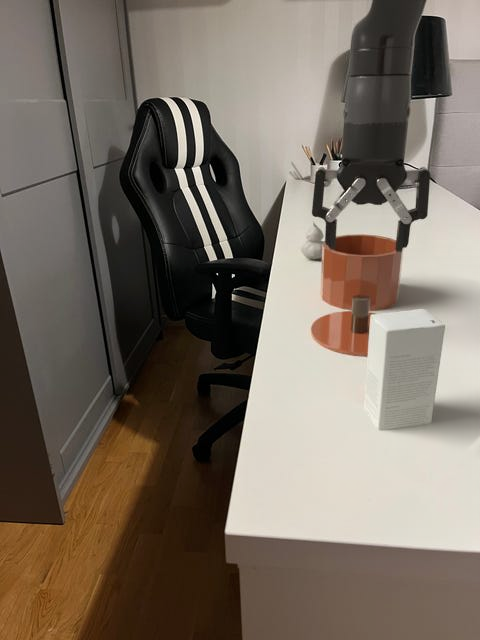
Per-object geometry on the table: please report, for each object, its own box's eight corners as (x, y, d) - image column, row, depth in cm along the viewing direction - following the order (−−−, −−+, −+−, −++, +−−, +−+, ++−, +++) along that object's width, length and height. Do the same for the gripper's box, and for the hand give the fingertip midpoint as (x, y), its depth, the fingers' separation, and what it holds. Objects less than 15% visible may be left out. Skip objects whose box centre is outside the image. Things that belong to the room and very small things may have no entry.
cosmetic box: (412, 404, 56) (425, 307, 51) (431, 427, 52) (448, 324, 47) (360, 411, 55) (369, 313, 50) (376, 435, 52) (387, 331, 47)
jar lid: (346, 310, 81) (348, 274, 78) (425, 335, 72) (431, 296, 69) (291, 338, 72) (292, 299, 70) (373, 371, 63) (377, 327, 61)
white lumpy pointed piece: (300, 254, 108) (301, 218, 105) (331, 254, 107) (333, 217, 104) (301, 262, 103) (301, 224, 100) (333, 262, 103) (335, 224, 99)
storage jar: (348, 280, 93) (352, 230, 89) (411, 297, 84) (418, 243, 80) (305, 300, 85) (307, 246, 81) (370, 321, 77) (375, 262, 73)
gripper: (434, 115, 62) (417, 243, 68) (317, 117, 64) (313, 240, 71) (443, 119, 55) (424, 260, 62) (313, 121, 58) (308, 255, 65)
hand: (365, 249), depth 66 cm, fingers open, 8 cm apart
